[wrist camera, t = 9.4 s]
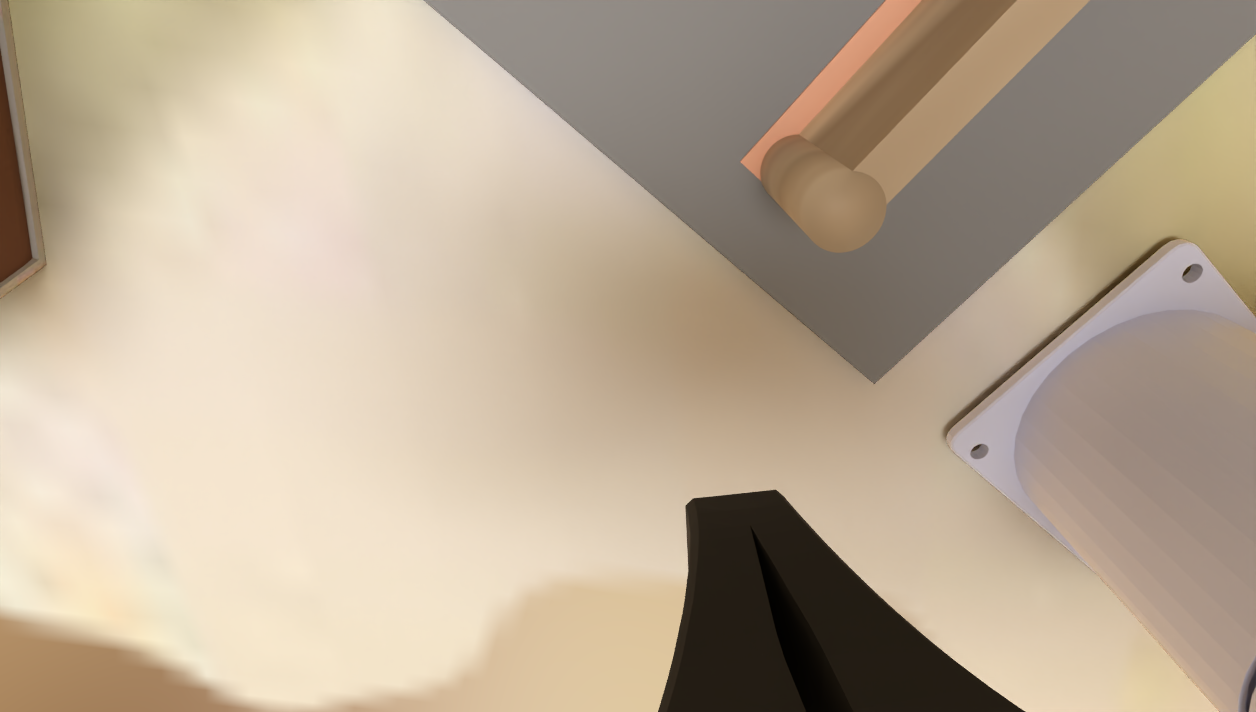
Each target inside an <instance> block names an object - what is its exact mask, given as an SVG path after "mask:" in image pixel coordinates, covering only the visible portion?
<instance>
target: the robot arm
mask: <svg viewBox="0 0 1256 712" xmlns="http://www.w3.org/2000/svg"><path fill="white" fill-rule="evenodd" d="M1190 265H1191V269H1190V271H1189V272H1188V273H1187V274H1186V275H1184V276H1183V272H1184V271H1185V269H1186V268H1187V267H1189V266H1190ZM946 440H947V444H948V446H949V447H950V448H951V450H952V451H953V452H954V453H955V454H956V455H957V456H958V457H960V458H961V459H962V460H963V461H964V462H965V463H967V464H968V465H969V466H970V467H971V468H972V469H974V470H975V471H976V472H977V473H978V474H980V475H981V476H982V477H983V478H984V479H985V480H987V481H988V482H989V483H990V484H991V485H992V486H994V487H995V488H996V489H997V490H998V491H1000V492H1001V493H1002V494H1003V495H1004V496H1005V497H1007V498H1008V499H1009V500H1010V501H1011V502H1012V503H1014V504H1015V505H1016V506H1017V507H1018V508H1019V509H1021V510H1022V511H1023V512H1024V513H1025V514H1027V515H1028V516H1029V517H1030V518H1031V519H1032V520H1034V521H1035V522H1036V523H1037V524H1038V525H1039V526H1041V527H1042V528H1043V529H1044V530H1045V531H1047V532H1048V533H1049V534H1050V535H1051V536H1052V537H1054V538H1055V539H1056V540H1057V541H1058V542H1059V543H1061V544H1062V545H1063V546H1064V547H1065V548H1067V549H1068V550H1069V551H1070V552H1071V553H1072V554H1074V555H1075V556H1076V557H1077V558H1078V559H1079V560H1081V561H1082V562H1083V563H1084V564H1085V565H1086V566H1088V567H1089V568H1090V569H1091V570H1092V571H1094V572H1095V573H1096V574H1097V575H1098V576H1099V577H1100V578H1101V579H1102V580H1103V581H1104V583H1105V584H1106V585H1107V586H1108V587H1109V588H1110V589H1111V590H1112V592H1113V593H1114V594H1115V595H1116V596H1117V597H1118V598H1119V600H1120V601H1121V602H1122V603H1123V604H1124V605H1125V606H1126V607H1127V609H1128V610H1129V611H1130V612H1131V613H1132V614H1133V615H1134V616H1135V618H1136V619H1137V620H1138V621H1139V622H1140V623H1141V624H1142V625H1143V627H1144V628H1145V629H1146V630H1147V631H1148V632H1149V633H1150V634H1151V636H1152V637H1153V638H1154V639H1155V640H1156V641H1157V642H1158V643H1159V645H1160V646H1161V647H1162V648H1163V649H1164V650H1165V651H1166V652H1167V654H1168V655H1169V656H1170V657H1171V658H1172V659H1173V660H1174V661H1175V663H1176V664H1177V665H1178V666H1179V667H1180V668H1181V669H1182V670H1183V672H1184V673H1185V674H1186V675H1187V676H1188V677H1189V678H1190V679H1191V681H1192V682H1193V683H1194V684H1195V685H1196V686H1197V687H1198V688H1199V690H1200V691H1201V692H1202V693H1203V694H1204V695H1205V696H1206V697H1207V699H1208V700H1209V701H1210V702H1211V703H1212V704H1213V705H1214V706H1215V708H1216V709H1217V710H1218V711H1219V712H1256V317H1255V316H1254V315H1253V313H1252V312H1251V311H1250V310H1249V308H1248V307H1247V306H1246V305H1245V303H1244V302H1243V301H1242V300H1241V299H1240V297H1239V296H1238V295H1237V294H1236V292H1235V291H1234V290H1233V289H1232V287H1231V286H1230V285H1229V284H1228V282H1227V281H1226V280H1225V279H1224V278H1223V276H1222V275H1221V274H1220V273H1219V271H1218V270H1217V269H1216V268H1215V266H1214V265H1213V264H1212V263H1211V262H1210V260H1209V259H1208V258H1207V257H1206V255H1205V254H1204V253H1203V252H1202V250H1201V249H1200V248H1199V247H1198V246H1197V245H1195V244H1194V243H1192V242H1189V241H1187V240H1184V239H1176V240H1172V241H1170V242H1168V243H1167V244H1165V245H1164V246H1162V247H1161V248H1160V249H1159V250H1158V251H1157V252H1155V253H1154V254H1153V255H1152V256H1151V257H1150V258H1148V259H1147V260H1146V261H1145V262H1144V263H1143V264H1141V265H1140V266H1139V267H1138V268H1137V269H1136V270H1135V271H1133V272H1132V273H1131V274H1130V275H1129V276H1128V277H1126V278H1125V279H1124V280H1123V281H1122V282H1121V283H1119V284H1118V285H1117V286H1116V287H1115V288H1114V289H1112V290H1111V291H1110V292H1109V293H1108V294H1107V295H1105V296H1104V297H1103V298H1102V299H1101V300H1100V301H1098V302H1097V303H1096V304H1095V305H1094V306H1093V307H1091V308H1090V309H1089V310H1088V311H1087V312H1086V313H1085V314H1083V315H1082V316H1081V317H1080V318H1079V319H1078V320H1076V321H1075V322H1074V323H1073V324H1072V325H1071V326H1069V327H1068V328H1067V329H1066V330H1065V331H1064V332H1062V333H1061V334H1060V335H1059V336H1058V337H1057V338H1055V339H1054V340H1053V341H1052V342H1051V343H1050V344H1048V345H1047V346H1046V347H1045V348H1044V349H1043V350H1042V351H1040V352H1039V353H1038V354H1037V355H1036V356H1035V357H1033V358H1032V359H1031V360H1030V361H1029V362H1028V363H1026V364H1025V365H1024V366H1023V367H1022V368H1021V369H1019V370H1018V371H1017V372H1016V373H1015V374H1014V375H1012V376H1011V377H1010V378H1009V379H1008V380H1007V381H1005V382H1004V383H1003V384H1002V385H1001V386H1000V387H998V388H997V389H996V390H995V391H994V392H993V393H992V394H990V395H989V396H988V397H987V398H986V399H985V400H983V401H982V402H981V403H980V404H979V405H978V406H976V407H975V408H974V409H973V410H972V411H971V412H969V413H968V414H967V415H966V416H965V417H964V418H962V419H961V420H960V421H959V422H958V423H957V424H955V425H954V426H953V427H952V428H951V429H950V431H949V432H948V434H947V437H946ZM978 444H981V446H980V447H979V449H977V450H975V451H971V450H972V449H973V447H974V446H976V445H978ZM686 526H687V548H688V569H689V571H688V579H687V587H686V595H685V602H684V608H683V614H682V619H681V623H680V628H679V633H678V638H677V642H676V647H675V652H674V656H673V661H672V664H671V668H670V672H669V676H668V680H667V683H666V687H665V690H664V694H663V697H662V700H661V704H660V707H659V710H658V712H1025V711H1023V710H1022V709H1020V708H1019V707H1017V706H1016V705H1014V704H1013V703H1012V702H1010V701H1009V700H1007V699H1006V698H1004V697H1003V696H1002V695H1000V694H999V693H997V692H996V691H994V690H993V689H992V688H990V687H989V686H987V685H986V684H985V683H983V682H982V681H981V680H980V679H978V678H977V677H976V676H974V675H973V674H972V673H970V672H969V671H968V670H966V669H965V668H964V667H962V666H961V665H960V664H958V663H957V662H956V661H954V660H953V659H952V658H951V657H949V656H948V655H947V654H946V653H944V652H943V651H942V650H941V649H939V648H938V647H937V646H936V645H935V644H933V643H932V642H931V641H930V640H929V639H927V638H926V637H925V636H924V635H923V634H921V633H920V632H919V631H918V630H917V629H916V628H915V627H913V626H912V625H911V624H910V623H909V622H908V621H906V620H905V619H904V618H903V617H902V616H901V615H900V614H898V613H897V612H896V611H895V610H894V609H893V608H892V607H891V606H890V605H888V604H887V603H886V602H885V601H884V600H883V599H882V598H881V597H880V596H879V595H878V594H876V593H875V592H874V591H873V590H872V589H871V588H870V587H869V586H868V585H867V584H866V583H865V582H864V581H863V580H862V579H861V578H860V577H859V576H858V575H857V574H856V573H855V572H854V571H853V570H852V569H851V568H850V567H849V566H848V565H847V564H846V563H845V562H844V561H843V560H842V559H841V558H840V557H839V556H838V555H837V554H836V553H835V552H834V551H833V550H832V549H831V548H830V547H829V546H828V545H827V544H826V543H825V542H824V541H823V540H822V539H821V538H820V536H819V535H818V534H817V533H816V532H815V531H814V530H813V529H812V528H811V527H810V526H809V525H808V523H807V522H806V521H805V520H804V519H803V518H802V517H801V516H800V515H799V513H798V512H797V511H796V510H795V509H794V508H793V507H792V506H791V504H790V503H789V502H788V501H787V500H786V499H785V497H784V496H783V495H781V494H780V493H779V492H778V491H777V490H770V491H760V492H751V493H741V494H732V495H722V496H713V497H703V498H694V499H692V500H691V501H690V502H689V503H688V504H687V505H686Z"/></svg>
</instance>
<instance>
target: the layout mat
mask: <svg viewBox="0 0 1256 712" xmlns="http://www.w3.org/2000/svg"><path fill="white" fill-rule="evenodd" d="M424 1H425V2H426V3H427V4H429V5H430V6H431V7H432V8H433V9H434V10H436V11H437V12H438V13H439V14H440V15H442V16H443V17H444V18H445V19H446V20H447V21H449V22H450V23H451V24H452V25H453V26H454V27H456V28H457V29H458V30H459V31H460V32H461V33H463V34H464V35H465V36H466V37H467V38H469V39H470V40H471V41H472V42H473V43H474V44H476V45H477V46H478V47H479V48H480V49H481V50H483V51H484V52H485V53H486V54H487V55H488V56H490V57H491V58H492V59H493V60H494V61H496V62H497V63H498V64H499V65H500V66H501V67H503V68H504V69H505V70H506V71H507V72H508V73H510V74H511V75H512V76H513V77H514V78H516V79H517V80H518V81H519V82H520V83H521V84H523V85H524V86H525V87H526V88H527V89H528V90H530V91H531V92H532V93H533V94H534V95H535V96H537V97H538V98H539V99H540V100H541V101H543V102H544V103H545V104H546V105H547V106H548V107H550V108H551V109H552V110H553V111H554V112H555V113H557V114H558V115H559V116H560V117H561V118H562V119H564V120H565V121H566V122H567V123H568V124H570V125H571V126H572V127H573V128H574V129H575V130H577V131H578V132H579V133H580V134H581V135H582V136H584V137H585V138H586V139H587V140H588V141H589V142H591V143H592V144H593V145H594V146H595V147H597V148H598V149H599V150H600V151H601V152H602V153H604V154H605V155H606V156H607V157H608V158H609V159H611V160H612V161H613V162H614V163H615V164H617V165H618V166H619V167H620V168H621V169H622V170H624V171H625V172H626V173H627V174H628V175H629V176H631V177H632V178H633V179H634V180H635V181H636V182H638V183H639V184H640V185H641V186H642V187H644V188H645V189H646V190H647V191H648V192H649V193H651V194H652V195H653V196H654V197H655V198H656V199H658V200H659V201H660V202H661V203H662V204H663V205H665V206H666V207H667V208H668V209H669V210H671V211H672V212H673V213H674V214H675V215H676V216H678V217H679V218H680V219H681V220H682V221H683V222H685V223H686V224H687V225H688V226H689V227H690V228H692V229H693V230H694V231H695V232H696V233H698V234H699V235H700V236H701V237H702V238H703V239H705V240H706V241H707V242H708V243H709V244H710V245H712V246H713V247H714V248H715V249H716V250H718V251H719V252H720V253H721V254H722V255H723V256H725V257H726V258H727V259H728V260H729V261H730V262H732V263H733V264H734V265H735V266H736V267H737V268H739V269H740V270H741V271H742V272H743V273H745V274H746V275H747V276H748V277H749V278H750V279H752V280H753V281H754V282H755V283H756V284H757V285H759V286H760V287H761V288H762V289H763V290H764V291H766V292H767V293H768V294H769V295H770V296H772V297H773V298H774V299H775V300H776V301H777V302H779V303H780V304H781V305H782V306H783V307H784V308H786V309H787V310H788V311H789V312H790V313H791V314H793V315H794V316H795V317H796V318H797V319H799V320H800V321H801V322H802V323H803V324H804V325H806V326H807V327H808V328H809V329H810V330H811V331H813V332H814V333H815V334H816V335H817V336H818V337H820V338H821V339H822V340H823V341H824V342H826V343H827V344H828V345H829V346H830V347H831V348H833V349H834V350H835V351H836V352H837V353H838V354H840V355H841V356H842V357H843V358H844V359H846V360H847V361H848V362H849V363H850V364H851V365H853V366H854V367H855V368H856V369H857V370H858V371H860V372H861V373H862V374H863V375H864V376H865V377H867V378H868V379H869V380H870V381H871V382H873V383H874V384H875V383H876V382H877V381H878V380H879V379H880V378H881V377H883V376H884V375H885V374H886V373H887V372H888V371H889V370H890V369H891V368H892V367H893V366H895V365H896V364H897V363H898V362H899V361H900V360H901V359H902V358H903V357H904V356H905V355H907V354H908V353H909V352H910V351H911V350H912V349H913V348H914V347H915V346H916V345H917V344H919V343H920V342H921V341H922V340H923V339H924V338H925V337H926V336H927V335H928V334H929V333H930V332H932V331H933V330H934V329H935V328H936V327H937V326H938V325H939V324H940V323H941V322H942V321H944V320H945V319H946V318H947V317H948V316H949V315H950V314H951V313H952V312H953V311H954V310H956V309H957V308H958V307H959V306H960V305H961V304H962V303H963V302H964V301H965V300H966V299H968V298H969V297H970V296H971V295H972V294H973V293H974V292H975V291H976V290H977V289H978V288H980V287H981V286H982V285H983V284H984V283H985V282H986V281H987V280H988V279H989V278H990V277H992V276H993V275H994V274H995V273H996V272H997V271H998V270H999V269H1000V268H1001V267H1002V266H1004V265H1005V264H1006V263H1007V262H1008V261H1009V260H1010V259H1011V258H1012V257H1013V256H1014V255H1016V254H1017V253H1018V252H1019V251H1020V250H1021V249H1022V248H1023V247H1024V246H1025V245H1026V244H1028V243H1029V242H1030V241H1031V240H1032V239H1033V238H1034V237H1035V236H1036V235H1037V234H1038V233H1040V232H1041V231H1042V230H1043V229H1044V228H1045V227H1046V226H1047V225H1048V224H1049V223H1050V222H1052V221H1053V220H1054V219H1055V218H1056V217H1057V216H1058V215H1059V214H1060V213H1061V212H1062V211H1063V210H1065V209H1066V208H1067V207H1068V206H1069V205H1070V204H1071V203H1072V202H1073V201H1074V200H1075V199H1077V198H1078V197H1079V196H1080V195H1081V194H1082V193H1083V192H1084V191H1085V190H1086V189H1087V188H1089V187H1090V186H1091V185H1092V184H1093V183H1094V182H1095V181H1096V180H1097V179H1098V178H1099V177H1101V176H1102V175H1103V174H1104V173H1105V172H1106V171H1107V170H1108V169H1109V168H1110V167H1111V166H1113V165H1114V164H1115V163H1116V162H1117V161H1118V160H1119V159H1120V158H1121V157H1122V156H1123V155H1125V154H1126V153H1127V152H1128V151H1129V150H1130V149H1131V148H1132V147H1133V146H1134V145H1135V144H1137V143H1138V142H1139V141H1140V140H1141V139H1142V138H1143V137H1144V136H1145V135H1146V134H1147V133H1149V132H1150V131H1151V130H1152V129H1153V128H1154V127H1155V126H1156V125H1157V124H1158V123H1159V122H1161V121H1162V120H1163V119H1164V118H1165V117H1166V116H1167V115H1168V114H1169V113H1170V112H1171V111H1173V110H1174V109H1175V108H1176V107H1177V106H1178V105H1179V104H1180V103H1181V102H1182V101H1183V100H1184V99H1186V98H1187V97H1188V96H1189V95H1190V94H1191V93H1192V92H1193V91H1194V90H1195V89H1196V88H1198V87H1199V86H1200V85H1201V84H1202V83H1203V82H1204V81H1205V80H1206V79H1207V78H1208V77H1210V76H1211V75H1212V74H1213V73H1214V72H1215V71H1216V70H1217V69H1218V68H1219V67H1220V66H1222V65H1223V64H1224V63H1225V62H1226V61H1227V60H1228V59H1229V58H1230V57H1231V56H1232V55H1234V54H1235V53H1236V52H1237V51H1238V50H1239V49H1240V48H1241V47H1242V46H1243V45H1244V44H1246V43H1247V42H1248V41H1249V40H1250V39H1251V38H1252V37H1253V36H1254V35H1255V34H1256V0H1090V1H1089V2H1088V3H1087V4H1086V5H1085V6H1084V7H1083V8H1082V9H1081V10H1080V11H1079V12H1078V13H1077V14H1076V15H1075V16H1074V17H1073V18H1072V19H1071V20H1070V21H1069V22H1068V23H1067V24H1066V25H1065V26H1064V27H1063V28H1062V29H1061V30H1060V31H1059V32H1058V33H1057V34H1056V35H1055V36H1054V37H1053V38H1052V39H1051V40H1050V41H1049V42H1048V43H1047V44H1046V45H1045V46H1044V47H1043V48H1042V49H1041V50H1040V51H1039V52H1038V53H1037V54H1036V55H1035V56H1034V57H1033V58H1032V59H1031V60H1030V61H1029V62H1028V63H1027V64H1026V65H1025V66H1024V67H1023V68H1022V69H1021V70H1020V71H1019V72H1018V73H1017V74H1016V75H1015V76H1014V77H1013V78H1012V79H1011V80H1010V81H1009V82H1008V83H1007V84H1006V85H1005V86H1004V87H1003V88H1002V89H1001V90H1000V91H999V92H998V93H997V94H996V95H995V96H994V97H993V98H992V99H991V100H990V101H989V102H988V103H987V104H986V105H985V106H984V107H983V108H982V109H981V110H980V111H979V112H978V113H977V114H976V115H975V116H974V117H973V118H972V119H971V120H970V121H969V122H968V123H967V124H966V125H965V126H964V127H963V128H962V129H961V130H960V131H959V132H958V133H957V134H956V135H955V136H954V137H953V138H952V139H951V140H950V141H949V142H948V143H947V144H946V145H945V146H944V147H943V148H942V149H941V150H940V151H939V152H938V153H937V154H936V155H935V156H934V158H933V159H932V160H931V161H930V162H929V163H928V164H927V165H926V166H925V167H924V168H923V169H922V170H921V171H920V172H919V173H918V174H917V175H916V176H915V177H914V178H913V179H912V180H911V181H910V182H909V183H908V184H907V185H906V186H905V187H904V188H903V189H902V190H901V191H900V192H899V193H898V194H897V195H896V196H895V197H894V198H893V199H892V200H891V201H890V202H889V203H888V204H887V205H886V215H885V218H884V221H883V224H882V226H881V228H880V229H879V231H878V232H877V234H876V235H875V236H874V237H873V238H872V239H871V240H870V241H869V242H868V243H866V244H865V245H863V246H862V247H860V248H858V249H855V250H853V251H849V252H843V253H836V252H830V251H827V250H824V249H822V248H820V247H819V246H817V245H816V244H815V243H814V242H813V241H812V240H811V239H810V238H809V237H808V236H807V235H806V233H805V232H804V231H803V230H802V229H801V228H800V227H799V226H798V225H797V224H796V223H795V222H794V221H793V220H792V218H791V217H790V216H789V215H788V214H787V213H786V212H785V211H784V210H783V209H782V208H781V207H780V206H779V204H778V203H777V202H776V201H775V200H774V199H773V198H772V197H771V196H770V195H769V194H768V193H767V192H766V190H765V189H764V187H763V185H762V181H761V175H760V171H761V164H762V161H763V158H764V156H765V154H766V152H767V151H768V150H769V148H770V147H771V146H772V145H773V144H774V143H776V142H777V141H778V140H780V139H782V138H784V137H786V136H790V135H796V134H800V133H801V131H802V130H803V129H804V128H805V127H806V126H807V125H808V124H809V123H810V122H811V121H812V120H813V118H814V117H815V116H816V115H817V114H818V113H819V112H820V111H821V110H822V109H823V108H824V106H825V105H826V104H827V103H828V102H829V101H830V100H831V99H832V98H833V97H834V96H835V94H836V93H837V92H838V91H839V90H840V89H841V88H842V87H843V86H844V85H845V84H846V82H847V81H848V80H849V79H850V78H851V77H852V76H853V75H854V74H855V73H856V72H857V70H858V69H859V68H860V67H861V66H862V65H863V64H864V63H865V62H866V61H867V60H868V58H869V57H870V56H871V55H872V54H873V53H874V52H875V51H876V50H877V49H878V48H879V47H880V45H881V44H882V43H883V42H884V41H885V40H886V39H887V38H888V37H889V36H890V35H891V33H892V32H893V31H894V30H895V29H896V28H897V27H898V26H899V25H900V24H901V23H902V21H903V20H904V19H905V18H906V17H907V16H908V15H909V14H910V13H911V12H912V11H913V9H914V8H915V7H916V6H917V5H918V4H919V3H920V2H921V1H922V0H424Z"/></svg>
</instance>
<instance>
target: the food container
mask: <svg viewBox="0 0 1256 712" xmlns="http://www.w3.org/2000/svg"><path fill="white" fill-rule="evenodd" d="M45 265H46V259H45V252H44V245H43V238H42V231H41V224H40V217H39V211H38V204H37V197H36V190H35V183H34V176H33V169H32V163H31V156H30V149H29V142H28V135H27V128H26V121H25V114H24V108H23V101H22V94H21V87H20V80H19V73H18V66H17V60H16V53H15V46H14V39H13V32H12V25H11V18H10V12H9V5H8V0H0V299H1V298H2V297H4V296H5V295H6V294H8V293H9V292H10V291H12V290H13V289H14V288H16V287H17V286H18V285H20V284H21V283H22V282H24V281H25V280H26V279H28V278H29V277H30V276H32V275H33V274H35V273H36V272H37V271H39V270H40V269H41V268H43V267H44V266H45Z"/></svg>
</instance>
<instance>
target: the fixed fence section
mask: <svg viewBox="0 0 1256 712" xmlns="http://www.w3.org/2000/svg"><path fill="white" fill-rule="evenodd" d="M1089 1H1090V0H922V1H921V2H920V3H919V4H918V5H917V6H916V7H915V8H914V9H913V11H912V12H911V13H910V14H909V15H908V16H907V17H906V18H905V19H904V20H903V21H902V23H901V24H900V25H899V26H898V27H897V28H896V29H895V30H894V31H893V32H892V33H891V35H890V36H889V37H888V38H887V39H886V40H885V41H884V42H883V43H882V44H881V45H880V47H879V48H878V49H877V50H876V51H875V52H874V53H873V54H872V55H871V56H870V57H869V58H868V60H867V61H866V62H865V63H864V64H863V65H862V66H861V67H860V68H859V69H858V70H857V72H856V73H855V74H854V75H853V76H852V77H851V78H850V79H849V80H848V81H847V82H846V84H845V85H844V86H843V87H842V88H841V89H840V90H839V91H838V92H837V93H836V94H835V96H834V97H833V98H832V99H831V100H830V101H829V102H828V103H827V104H826V105H825V106H824V108H823V109H822V110H821V111H820V112H819V113H818V114H817V115H816V116H815V117H814V118H813V120H812V121H811V122H810V123H809V124H808V125H807V126H806V127H805V128H804V129H803V130H802V131H801V133H800V134H796V135H790V136H786V137H784V138H782V139H780V140H778V141H777V142H776V143H774V144H773V145H772V146H771V147H770V148H769V150H768V151H767V152H766V154H765V156H764V158H763V161H762V164H761V171H760V175H761V181H762V185H763V187H764V189H765V190H766V192H767V193H768V194H769V195H770V196H771V197H772V198H773V199H774V200H775V201H776V202H777V203H778V204H779V206H780V207H781V208H782V209H783V210H784V211H785V212H786V213H787V214H788V215H789V216H790V217H791V218H792V220H793V221H794V222H795V223H796V224H797V225H798V226H799V227H800V228H801V229H802V230H803V231H804V232H805V233H806V235H807V236H808V237H809V238H810V239H811V240H812V241H813V242H814V243H815V244H816V245H817V246H819V247H820V248H822V249H824V250H827V251H830V252H836V253H843V252H849V251H853V250H855V249H858V248H860V247H862V246H863V245H865V244H866V243H868V242H869V241H870V240H871V239H872V238H873V237H874V236H875V235H876V234H877V232H878V231H879V229H880V228H881V226H882V224H883V221H884V218H885V215H886V205H887V204H888V203H889V202H890V201H891V200H892V199H893V198H894V197H895V196H896V195H897V194H898V193H899V192H900V191H901V190H902V189H903V188H904V187H905V186H906V185H907V184H908V183H909V182H910V181H911V180H912V179H913V178H914V177H915V176H916V175H917V174H918V173H919V172H920V171H921V170H922V169H923V168H924V167H925V166H926V165H927V164H928V163H929V162H930V161H931V160H932V159H933V158H934V156H935V155H936V154H937V153H938V152H939V151H940V150H941V149H942V148H943V147H944V146H945V145H946V144H947V143H948V142H949V141H950V140H951V139H952V138H953V137H954V136H955V135H956V134H957V133H958V132H959V131H960V130H961V129H962V128H963V127H964V126H965V125H966V124H967V123H968V122H969V121H970V120H971V119H972V118H973V117H974V116H975V115H976V114H977V113H978V112H979V111H980V110H981V109H982V108H983V107H984V106H985V105H986V104H987V103H988V102H989V101H990V100H991V99H992V98H993V97H994V96H995V95H996V94H997V93H998V92H999V91H1000V90H1001V89H1002V88H1003V87H1004V86H1005V85H1006V84H1007V83H1008V82H1009V81H1010V80H1011V79H1012V78H1013V77H1014V76H1015V75H1016V74H1017V73H1018V72H1019V71H1020V70H1021V69H1022V68H1023V67H1024V66H1025V65H1026V64H1027V63H1028V62H1029V61H1030V60H1031V59H1032V58H1033V57H1034V56H1035V55H1036V54H1037V53H1038V52H1039V51H1040V50H1041V49H1042V48H1043V47H1044V46H1045V45H1046V44H1047V43H1048V42H1049V41H1050V40H1051V39H1052V38H1053V37H1054V36H1055V35H1056V34H1057V33H1058V32H1059V31H1060V30H1061V29H1062V28H1063V27H1064V26H1065V25H1066V24H1067V23H1068V22H1069V21H1070V20H1071V19H1072V18H1073V17H1074V16H1075V15H1076V14H1077V13H1078V12H1079V11H1080V10H1081V9H1082V8H1083V7H1084V6H1085V5H1086V4H1087V3H1088V2H1089Z"/></svg>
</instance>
